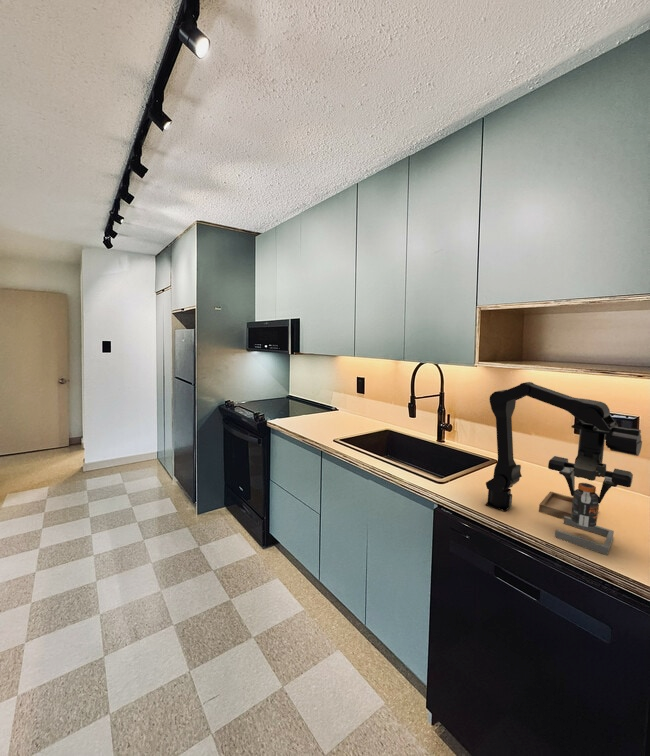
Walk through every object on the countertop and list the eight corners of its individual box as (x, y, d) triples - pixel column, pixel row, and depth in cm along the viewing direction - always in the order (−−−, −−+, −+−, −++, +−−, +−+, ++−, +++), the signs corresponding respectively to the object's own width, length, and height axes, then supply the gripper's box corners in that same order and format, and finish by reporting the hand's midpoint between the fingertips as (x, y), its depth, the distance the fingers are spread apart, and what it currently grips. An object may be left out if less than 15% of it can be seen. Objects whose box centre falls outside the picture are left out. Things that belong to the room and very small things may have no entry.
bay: (554, 537, 103) (555, 530, 103) (564, 522, 112) (564, 515, 111) (607, 555, 95) (608, 548, 95) (613, 537, 103) (613, 530, 103)
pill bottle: (591, 530, 99) (595, 491, 98) (567, 521, 104) (570, 483, 102) (599, 523, 102) (603, 486, 101) (575, 515, 107) (579, 479, 106)
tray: (538, 511, 118) (539, 504, 118) (549, 498, 128) (550, 491, 128) (590, 527, 109) (591, 519, 108) (598, 511, 118) (599, 504, 118)
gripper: (545, 445, 101) (541, 497, 103) (631, 461, 88) (625, 521, 90) (555, 437, 109) (550, 486, 111) (635, 451, 96) (629, 506, 98)
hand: (585, 499), depth 102 cm, fingers closed on pill bottle, 6 cm apart
